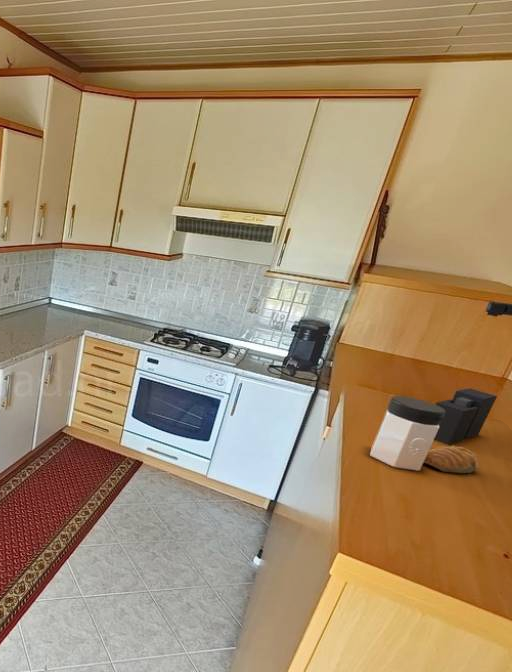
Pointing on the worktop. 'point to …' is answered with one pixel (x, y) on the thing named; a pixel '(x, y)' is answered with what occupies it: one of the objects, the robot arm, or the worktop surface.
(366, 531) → the worktop surface
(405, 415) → the jar
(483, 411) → the block
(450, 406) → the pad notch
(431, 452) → the pastry
